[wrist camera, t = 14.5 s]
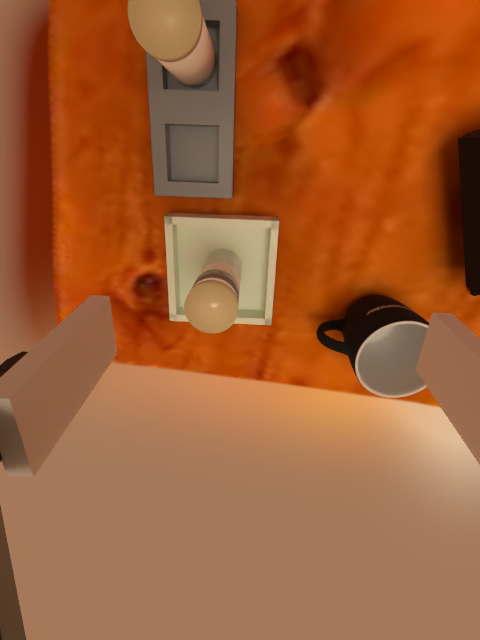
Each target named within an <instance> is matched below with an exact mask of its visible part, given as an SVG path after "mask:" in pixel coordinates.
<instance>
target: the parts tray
mask: <svg viewBox="0 0 480 640" xmlns="http://www.w3.org/2000/svg"><path fill="white" fill-rule="evenodd" d="M164 221H165V240H166V259H167V278H168V297H169V316H170V321H187V322H189V321H188V319H187V318H186V315H185V311H184V303H185V300H186V297H187V295H188V293H189V291H190V290H191V289H192V287H193V285H194V283H195V281H196V279H197V278H198V276H199V274H200V272H201V270H202V268H203V266H204V264H205V262H206V260H207V258H208V256H209V255H210V254H211V253H212V252H214V251H216V250H220V249H226V250H230V251H232V252H234V253H235V254H236V255H237V256H238V257H239V258H240V260H241V263H242V276H241V283H240V290H239V291H240V294H239V302H238V314H237V317H236V320H235V322H234V324H257V325H271V322H272V309H273V296H274V283H275V270H276V257H277V244H278V231H279V219H278V217H277V216H253V215H228V214H202V213H176V212H170V213H168V214H167V215H166V216H164Z"/></svg>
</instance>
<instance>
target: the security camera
mask: <svg viewBox="0 0 480 640" xmlns="http://www.w3.org/2000/svg"><path fill="white" fill-rule="evenodd" d="M458 147H459V165H460V183H461V201H462V220H463V238H464V256H465V274H466V286H467V287H468V288H470V294H472V295H473V296H476V295H480V130H477V131H474V132H471V133H467V135H464V136H463V137H461V138H458Z"/></svg>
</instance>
